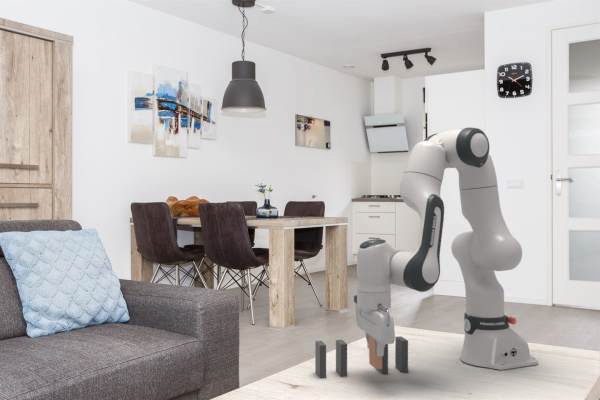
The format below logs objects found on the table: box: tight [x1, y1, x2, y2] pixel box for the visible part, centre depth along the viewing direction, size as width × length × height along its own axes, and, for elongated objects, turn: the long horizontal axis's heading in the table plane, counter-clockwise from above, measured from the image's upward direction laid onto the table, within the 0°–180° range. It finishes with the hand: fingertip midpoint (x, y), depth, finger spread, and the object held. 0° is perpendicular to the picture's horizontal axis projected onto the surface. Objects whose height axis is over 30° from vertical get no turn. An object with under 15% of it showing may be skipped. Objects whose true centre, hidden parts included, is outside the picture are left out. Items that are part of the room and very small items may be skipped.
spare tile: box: [368, 335, 382, 370], centre depth 151 cm, size 2×5×9 cm, turn 13°
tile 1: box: [314, 340, 327, 379], centre depth 157 cm, size 2×5×9 cm, turn 12°
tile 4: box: [394, 336, 409, 374], centre depth 162 cm, size 2×5×9 cm, turn 12°
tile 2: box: [335, 339, 348, 378], centre depth 159 cm, size 2×5×9 cm, turn 12°
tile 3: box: [376, 344, 389, 375], centre depth 161 cm, size 2×5×9 cm, turn 12°
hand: (375, 352), depth 151 cm, fingers closed on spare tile, 5 cm apart
